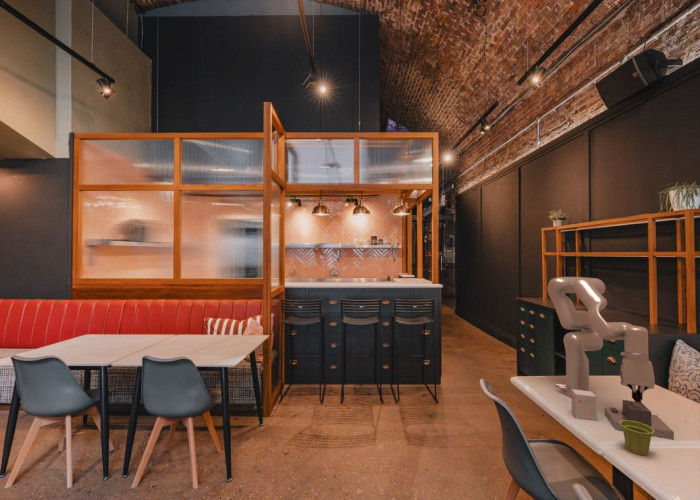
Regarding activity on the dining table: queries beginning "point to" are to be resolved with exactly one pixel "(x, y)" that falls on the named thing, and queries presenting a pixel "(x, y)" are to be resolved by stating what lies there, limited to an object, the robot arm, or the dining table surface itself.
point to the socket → (656, 425)
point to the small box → (584, 404)
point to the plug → (637, 412)
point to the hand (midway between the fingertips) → (637, 400)
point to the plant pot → (637, 436)
